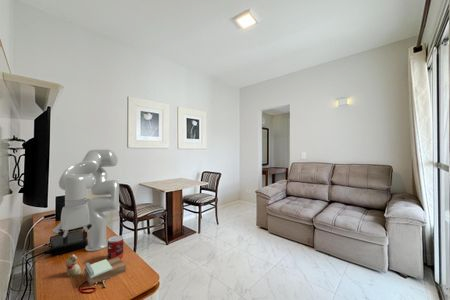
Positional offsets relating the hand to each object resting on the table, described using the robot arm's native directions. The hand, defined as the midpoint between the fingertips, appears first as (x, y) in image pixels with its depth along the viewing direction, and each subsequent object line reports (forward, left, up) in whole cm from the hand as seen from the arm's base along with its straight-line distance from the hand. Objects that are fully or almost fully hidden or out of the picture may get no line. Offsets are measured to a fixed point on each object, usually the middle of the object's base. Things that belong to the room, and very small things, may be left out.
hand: (75, 241), depth 85 cm
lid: (0, +9, -16) cm, 19 cm away
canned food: (-12, +20, -20) cm, 31 cm away
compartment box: (0, +12, -20) cm, 23 cm away
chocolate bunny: (-11, +1, -20) cm, 23 cm away
